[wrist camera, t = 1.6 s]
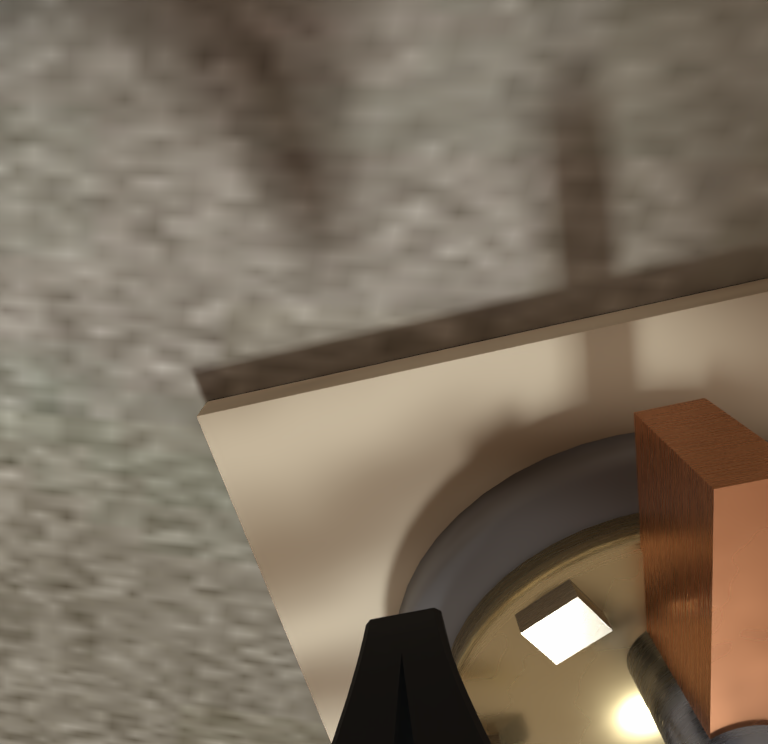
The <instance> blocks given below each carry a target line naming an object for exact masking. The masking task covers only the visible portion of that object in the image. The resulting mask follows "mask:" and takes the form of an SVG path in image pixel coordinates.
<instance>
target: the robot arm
mask: <svg viewBox="0 0 768 744" xmlns="http://www.w3.org/2000/svg"><path fill="white" fill-rule="evenodd" d="M332 744H491V742H490V740H489V738H488V736H487V734H486V732H485V730H484V728H483V725H482V723H481V721H480V719H479V717H478V715H477V712H476V710H475V708H474V706H473V704H472V702H471V699H470V697H469V695H468V693H467V691H466V688H465V686H464V683H463V681H462V679H461V676H460V674H459V671H458V668H457V666H456V663H455V660H454V658H453V655H452V652H451V648H450V644H449V640H448V636H447V632H446V628H445V624H444V620H443V616H442V612H441V611H440V610H438V609H436V608H429V609H423V610H418V611H413V612H407V613H402V614H397V615H391V616H386V617H381V618H375V619H370V620H369V622H368V623H367V624H366V626H365V631H364V636H363V640H362V644H361V648H360V653H359V656H358V660H357V664H356V668H355V671H354V675H353V678H352V682H351V685H350V688H349V692H348V695H347V698H346V701H345V704H344V707H343V711H342V714H341V717H340V720H339V723H338V726H337V729H336V732H335V735H334V738H333V741H332Z"/></svg>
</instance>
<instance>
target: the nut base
mask: <svg viewBox="0 0 768 744" xmlns="http://www.w3.org/2000/svg"><path fill="white" fill-rule="evenodd" d="M702 398H706V399H707V400H709V401H710V402H711V403H713V404H714V405H716V406H717V407H718V408H720V409H721V410H723V411H724V412H726V413H727V414H728V415H730V416H731V417H733V418H734V419H735V420H737V421H738V422H740V423H741V424H743V425H744V426H745V427H747V428H748V429H750V430H751V431H752V432H754V433H755V434H757V435H758V436H760V437H761V438H762V439H764V440H765V441H767V442H768V278H766V279H762V280H757V281H753V282H748V283H744V284H739V285H735V286H730V287H726V288H721V289H716V290H712V291H707V292H703V293H698V294H694V295H689V296H685V297H680V298H676V299H671V300H667V301H662V302H657V303H653V304H648V305H644V306H639V307H635V308H630V309H626V310H621V311H617V312H612V313H608V314H603V315H598V316H594V317H589V318H585V319H580V320H576V321H571V322H567V323H562V324H558V325H553V326H549V327H544V328H539V329H535V330H530V331H526V332H521V333H517V334H512V335H508V336H503V337H499V338H494V339H490V340H485V341H480V342H476V343H471V344H467V345H462V346H458V347H453V348H449V349H444V350H440V351H435V352H430V353H426V354H421V355H417V356H412V357H408V358H403V359H399V360H394V361H390V362H385V363H381V364H376V365H371V366H367V367H362V368H358V369H353V370H349V371H344V372H340V373H335V374H331V375H326V376H322V377H317V378H312V379H308V380H303V381H299V382H294V383H290V384H285V385H281V386H276V387H272V388H267V389H263V390H258V391H253V392H249V393H244V394H240V395H235V396H231V397H226V398H222V399H217V400H213V401H208V402H207V403H206V404H205V406H204V407H203V408H202V410H201V411H200V413H199V414H198V415H197V418H198V421H199V423H200V425H201V428H202V430H203V433H204V435H205V438H206V440H207V442H208V445H209V447H210V450H211V452H212V455H213V457H214V459H215V462H216V464H217V467H218V469H219V472H220V474H221V476H222V479H223V481H224V484H225V486H226V489H227V491H228V493H229V496H230V498H231V501H232V503H233V506H234V508H235V510H236V513H237V515H238V518H239V520H240V523H241V525H242V527H243V530H244V532H245V535H246V537H247V540H248V542H249V544H250V547H251V549H252V552H253V554H254V557H255V559H256V561H257V564H258V566H259V569H260V571H261V574H262V576H263V578H264V581H265V583H266V586H267V588H268V591H269V593H270V595H271V598H272V600H273V603H274V605H275V608H276V610H277V612H278V615H279V617H280V620H281V622H282V625H283V627H284V629H285V632H286V634H287V637H288V639H289V642H290V644H291V646H292V649H293V651H294V654H295V656H296V659H297V661H298V663H299V666H300V668H301V671H302V673H303V676H304V678H305V680H306V683H307V685H308V688H309V690H310V693H311V695H312V697H313V700H314V702H315V705H316V707H317V710H318V712H319V714H320V717H321V719H322V722H323V724H324V727H325V729H326V731H327V734H328V736H329V739H330V741H331V744H332V741H333V738H334V735H335V732H336V729H337V726H338V723H339V720H340V717H341V714H342V711H343V707H344V704H345V701H346V698H347V695H348V692H349V688H350V685H351V682H352V678H353V675H354V671H355V668H356V664H357V660H358V656H359V653H360V648H361V644H362V640H363V636H364V631H365V626H366V624H367V623H368V622H369V620H370V619H375V618H381V617H386V616H391V615H397V614H402V613H407V612H413V611H418V610H423V609H429V608H436V609H438V610H440V611H441V612H442V616H443V620H444V624H445V628H446V632H447V636H448V640H449V644H450V648H451V649H452V646H453V644H454V641H455V639H456V637H457V635H458V633H459V632H460V630H461V628H462V626H463V625H464V623H465V621H466V620H467V618H468V616H469V615H470V614H471V613H472V611H473V610H474V609H475V608H476V606H477V605H478V604H479V602H480V601H481V600H482V599H483V597H484V596H485V595H486V594H487V593H488V592H489V591H490V590H492V589H493V588H494V587H495V586H496V585H497V584H498V583H499V582H500V581H501V580H502V579H503V578H504V577H505V576H506V575H508V574H509V573H510V572H512V571H513V570H514V569H516V568H517V567H518V566H519V565H521V564H522V563H523V562H525V561H526V560H527V559H529V558H531V557H532V556H534V555H536V554H537V553H539V552H541V551H542V550H544V549H545V548H547V547H549V546H550V545H552V544H554V543H556V542H558V541H560V540H562V539H564V538H566V537H569V536H571V535H573V534H575V533H577V532H579V531H581V530H583V529H586V528H589V527H592V526H595V525H598V524H600V523H603V522H606V521H609V520H612V519H614V518H619V517H623V516H627V515H631V514H635V513H639V505H638V486H637V466H636V447H635V427H634V412H639V411H643V410H648V409H653V408H658V407H663V406H668V405H673V404H677V403H682V402H687V401H692V400H697V399H702Z"/></svg>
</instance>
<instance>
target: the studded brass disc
mask: <svg viewBox="0 0 768 744" xmlns="http://www.w3.org/2000/svg"><path fill="white" fill-rule="evenodd" d="M634 427H635V447H636V466H637V486H638V505H639V513H635V514H631V515H627V516H623V517H619V518H614V519H612V520H609V521H606V522H603V523H600V524H598V525H595V526H592V527H589V528H586V529H583V530H581V531H579V532H577V533H575V534H573V535H571V536H569V537H566V538H564V539H562V540H560V541H558V542H556V543H554V544H552V545H550V546H549V547H547V548H545V549H544V550H542V551H541V552H539V553H537V554H536V555H534V556H532V557H531V558H529V559H527V560H526V561H525V562H523V563H522V564H521V565H519V566H518V567H517V568H516V569H514V570H513V571H512V572H510V573H509V574H508V575H506V576H505V577H504V578H503V579H502V580H501V581H500V582H499V583H498V584H497V585H496V586H495V587H494V588H493V589H492V590H490V591H489V592H488V593H487V594H486V595H485V596H484V597H483V599H482V600H481V601H480V602H479V604H478V605H477V606H476V608H475V609H474V610H473V611H472V613H471V614H470V615H469V616H468V618H467V620H466V621H465V623H464V625H463V626H462V628H461V630H460V632H459V633H458V635H457V637H456V639H455V641H454V644H453V646H452V649H451V652H452V655H453V658H454V660H455V663H456V666H457V668H458V671H459V674H460V676H461V679H462V681H463V683H464V686H465V688H466V691H467V693H468V695H469V697H470V699H471V702H472V704H473V706H474V708H475V710H476V712H477V715H478V717H479V719H480V721H481V723H482V725H483V728H484V730H485V732H486V734H487V736H488V738H489V740H490V742H491V744H768V442H767V441H765V440H764V439H762V438H761V437H760V436H758V435H757V434H755V433H754V432H752V431H751V430H750V429H748V428H747V427H745V426H744V425H743V424H741V423H740V422H738V421H737V420H735V419H734V418H733V417H731V416H730V415H728V414H727V413H726V412H724V411H723V410H721V409H720V408H718V407H717V406H716V405H714V404H713V403H711V402H710V401H709V400H707V399H706V398H702V399H697V400H692V401H687V402H682V403H677V404H673V405H668V406H663V407H658V408H653V409H648V410H643V411H639V412H634Z"/></svg>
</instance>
